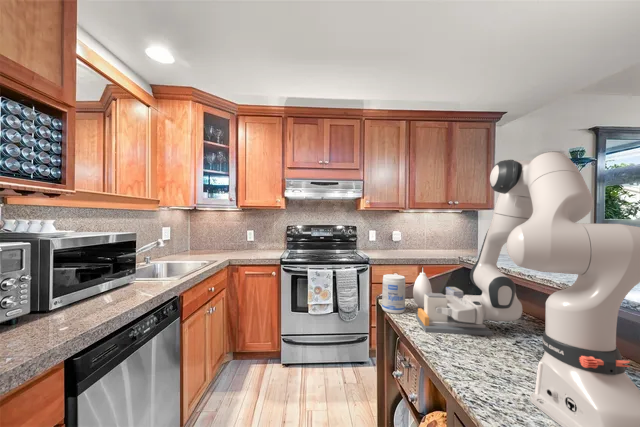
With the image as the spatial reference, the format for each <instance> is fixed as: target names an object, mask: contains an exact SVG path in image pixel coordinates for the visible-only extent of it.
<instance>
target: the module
mask: <svg viewBox="0 0 640 427" xmlns="http://www.w3.org/2000/svg"><path fill="white" fill-rule="evenodd" d="M445 295H446V294H443V293H441V292H437V293H436V292H432V293H426V294H424V308H423V310H424V312H425V313H426V314H427V315H428V317H429V321H431V322H447V315H446V314H442V313H437V312H436V311H435V310H436V309H435V308H436V307H441V308H447V298H446V296H445Z"/></svg>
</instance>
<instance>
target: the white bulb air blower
mask: <svg viewBox="0 0 640 427" xmlns="http://www.w3.org/2000/svg"><path fill="white" fill-rule="evenodd" d="M421 268H422V269H421V272H419V275H418V276H417V277H416V279H415V282H414V285H413V289H412V295H413V300H414V302H415V304H416V306H418V308H422V309H424V294H426V293H433V289H432V284H431V282H430V280H429V278H428V276H427V273H426V272H424V267H423V266H422V267H421Z"/></svg>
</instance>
